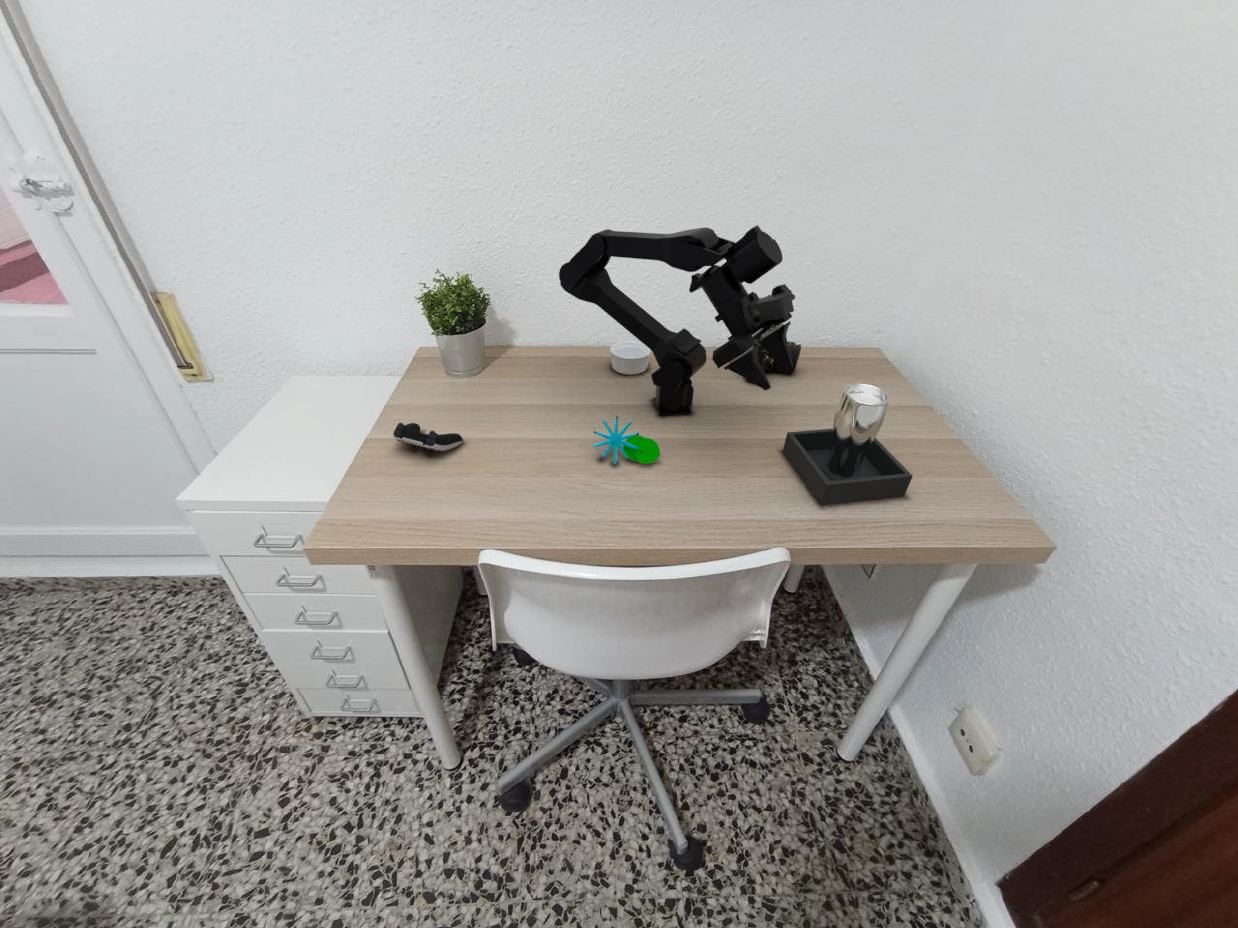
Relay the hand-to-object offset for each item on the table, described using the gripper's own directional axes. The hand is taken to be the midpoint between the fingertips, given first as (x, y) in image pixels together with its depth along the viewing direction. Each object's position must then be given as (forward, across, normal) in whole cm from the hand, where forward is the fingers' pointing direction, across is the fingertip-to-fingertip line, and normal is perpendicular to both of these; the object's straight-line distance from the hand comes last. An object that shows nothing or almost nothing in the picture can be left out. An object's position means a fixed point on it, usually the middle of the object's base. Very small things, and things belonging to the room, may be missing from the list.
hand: (779, 378), depth 92 cm
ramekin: (-17, +8, +35) cm, 40 cm away
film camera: (+1, +27, +18) cm, 32 cm away
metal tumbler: (+19, -1, -1) cm, 19 cm away
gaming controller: (-24, -39, +42) cm, 62 cm away
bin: (+19, -1, -1) cm, 19 cm away
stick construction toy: (-4, -19, +22) cm, 29 cm away
